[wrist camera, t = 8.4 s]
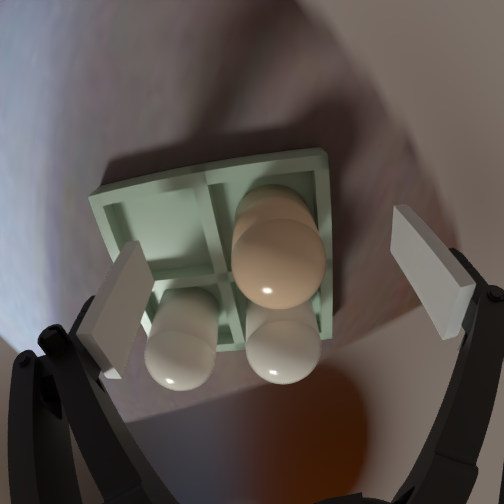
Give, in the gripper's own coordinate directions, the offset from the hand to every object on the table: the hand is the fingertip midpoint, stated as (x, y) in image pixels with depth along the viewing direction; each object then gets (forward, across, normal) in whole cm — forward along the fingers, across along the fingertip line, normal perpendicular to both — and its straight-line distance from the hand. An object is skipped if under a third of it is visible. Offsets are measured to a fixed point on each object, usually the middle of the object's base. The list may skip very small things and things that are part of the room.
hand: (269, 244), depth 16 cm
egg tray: (+4, -3, -4) cm, 7 cm away
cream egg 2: (+4, 0, -7) cm, 8 cm away
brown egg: (+4, 0, -1) cm, 4 cm away
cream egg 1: (+4, -7, -7) cm, 10 cm away
